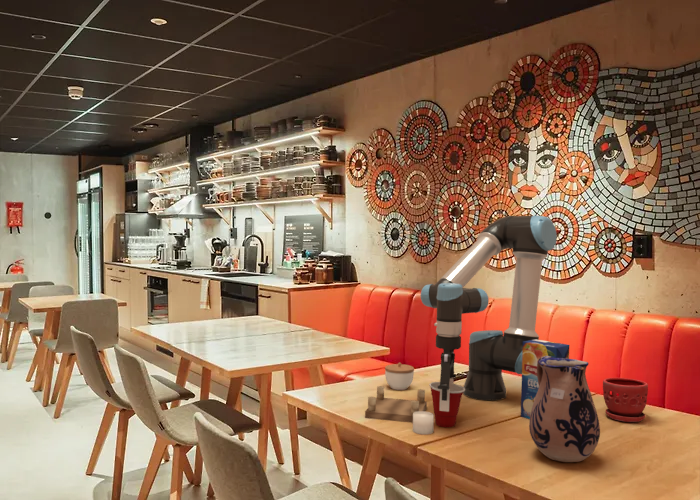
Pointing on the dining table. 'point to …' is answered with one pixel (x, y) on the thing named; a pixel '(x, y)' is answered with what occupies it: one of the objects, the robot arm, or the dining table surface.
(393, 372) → the lidded jar
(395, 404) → the stand
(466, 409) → the dining table surface
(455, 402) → the plastic cup
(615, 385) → the plant pot
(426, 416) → the marshmallow
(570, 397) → the ceramic pitcher
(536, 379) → the juice carton
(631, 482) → the dining table surface
